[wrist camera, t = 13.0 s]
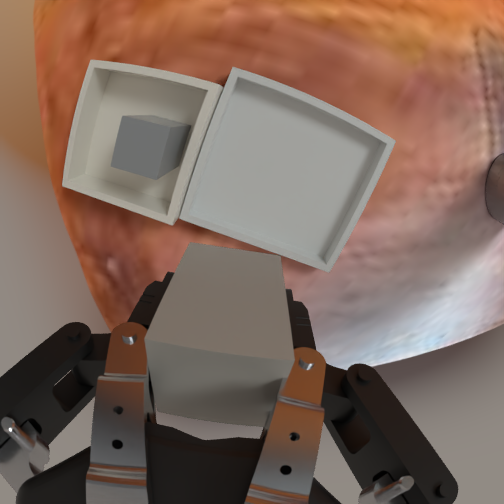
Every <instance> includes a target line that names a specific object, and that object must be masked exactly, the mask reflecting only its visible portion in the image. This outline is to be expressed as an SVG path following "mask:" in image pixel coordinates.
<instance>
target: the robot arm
mask: <svg viewBox="0 0 504 504" xmlns="http://www.w3.org/2000/svg"><path fill="white" fill-rule="evenodd" d="M486 202H487V207H488V210H489V212H490V214H491V215H492V217H493V218H495V219H496V220H498V221H499V222H501V223H502V224H504V154H502V155H500V156H499V157H498V158H496V160H495V161H494V163H493V164H492V166H491V168H490V171H489V174H488V177H487V183H486ZM173 275H174V273H173V272H167V274H166V276H165V278H164V280H163V281H162V282H159V281H154V282H153V283H151V284H150V285H148V286H147V287H146V289H145V291H144V293H143V295H142V296H141V298H140V300H139V301H138V303H137V305H136V307H135V309H134V310H133V312H132V314H131V316H130V318H129V319H128V321H127V322H126V323H122V324H119V325H118V326H116V327H115V328H114V329H113V331H112V333H109V334H91V331H90V329H89V327H88V326H87V325H85V324H83V323H80V322H72V323H69V324H66V325H64V326H63V327H62V328H60V329H59V330H58V331H57V332H55V333H54V334H53V335H51V336H50V337H49V338H48V339H46V340H45V341H44V342H43V343H41V344H40V345H39V346H38V347H36V348H35V349H34V350H33V351H31V352H30V353H29V354H28V355H26V356H25V357H24V358H23V359H22V360H20V361H19V362H18V363H17V364H16V365H14V366H13V367H12V368H11V369H10V370H8V371H7V372H6V373H5V374H4V375H3V376H1V377H0V473H1V474H2V476H3V477H4V478H5V479H6V481H7V482H8V483H9V484H10V486H11V487H12V488H13V489H14V490H15V491H16V492H17V496H16V504H341V503H340V502H339V501H338V500H337V499H336V498H335V497H334V496H333V495H331V494H330V493H329V492H328V491H327V490H326V489H325V488H324V487H323V486H322V485H321V484H320V483H319V482H318V481H317V480H316V479H315V478H314V477H313V475H314V471H315V465H316V460H317V455H318V450H319V444H320V438H321V432H322V426H323V422H324V423H325V425H326V427H327V429H328V430H329V432H330V434H331V436H332V437H333V439H334V441H335V443H336V445H337V446H338V448H339V450H340V452H341V453H342V455H343V457H344V458H345V460H346V462H347V464H348V465H349V467H350V469H351V471H352V473H353V474H354V476H355V478H356V479H357V481H358V483H359V485H360V486H361V488H362V491H361V493H360V495H359V501H358V502H359V504H452V503H453V502H454V501H455V499H456V497H457V494H458V485H457V482H456V480H455V478H454V477H453V476H452V474H451V473H450V471H449V470H448V468H447V467H446V465H445V464H444V463H443V461H442V460H441V458H440V457H439V456H438V454H437V453H436V452H435V450H434V449H433V447H432V446H431V444H430V443H429V441H428V440H427V439H426V437H425V436H424V435H423V433H422V432H421V431H420V429H419V428H418V426H417V425H416V424H415V422H414V421H413V419H412V418H411V417H410V415H409V414H408V413H407V411H406V410H405V409H404V407H403V406H402V405H401V403H400V402H399V400H398V399H397V398H396V396H395V395H394V394H393V392H392V391H391V390H390V388H389V387H388V386H387V385H386V383H385V382H384V381H383V379H382V378H381V377H380V375H379V374H378V373H377V372H376V370H375V369H373V368H372V367H370V366H368V365H366V364H354V365H352V366H350V367H349V368H348V370H343V369H340V368H336V367H333V366H331V365H329V364H327V363H326V361H325V359H324V357H323V356H322V355H321V354H320V353H319V352H318V351H316V346H315V341H314V337H313V332H312V327H311V323H310V320H309V314H308V310H307V308H306V307H305V306H304V305H303V303H302V302H298V301H293V295H292V290H291V289H285V290H286V297H287V304H288V311H289V319H290V326H291V334H292V342H293V349H294V357H295V361H294V364H293V366H292V369H291V371H290V374H289V376H288V378H282V381H281V384H280V386H279V389H278V393H277V396H276V400H275V403H274V406H273V409H272V411H269V413H268V415H267V418H266V421H265V424H264V427H263V430H262V434H261V436H260V439H253V438H240V437H236V438H227V439H217V440H202V439H199V438H197V437H194V436H192V435H189V434H187V433H184V432H182V431H180V430H177V429H175V428H173V427H168V426H164V425H159V424H157V422H156V407H155V397H154V393H153V388H152V382H151V377H150V372H149V366H148V360H147V353H146V347H145V340H144V338H145V336H146V333H147V331H148V329H149V327H150V324H151V322H152V320H153V318H154V316H155V313H156V311H157V309H158V307H159V305H160V303H161V300H162V298H163V296H164V294H165V292H166V290H167V288H168V286H169V283H170V281H171V279H172V277H173ZM70 370H71V371H70ZM69 371H70V372H69ZM68 372H69V373H68ZM67 373H68V374H67ZM66 374H67V375H66ZM65 375H66V376H65ZM64 376H65V377H64ZM62 377H64V378H63V379H62V380H60V379H61V378H62ZM59 380H60V382H58V381H59ZM57 382H58V383H57ZM56 383H57V384H56ZM55 384H56V385H55ZM54 385H55V386H54ZM93 397H95V403H94V412H93V423H92V435H91V446H89V447H88V448H86V449H84V450H83V451H81V452H79V453H77V454H75V455H74V456H72V457H70V458H68V459H66V460H64V461H63V462H61V463H59V464H57V465H55V466H53V467H51V468H49V469H47V470H45V471H43V469H44V465H45V464H47V463H48V462H49V452H50V450H49V446H48V445H49V444H50V443H51V442H52V441H53V440H54V438H55V437H56V436H57V435H58V434H59V433H60V432H61V431H62V430H63V429H64V428H65V427H66V426H67V425H68V424H69V423H70V422H71V421H72V420H73V419H74V418H75V417H76V415H77V414H78V413H79V412H80V411H81V410H82V409H83V408H84V407H85V406H86V405H87V404H88V403H89V402H90V401H91V400H92V398H93Z"/></svg>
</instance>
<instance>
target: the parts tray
mask: <svg viewBox="0 0 504 504" xmlns="http://www.w3.org/2000/svg"><path fill="white" fill-rule="evenodd" d="M395 142H396V141H395V140H394V139H392V138H390V137H389V136H387V135H385V134H384V133H382V132H380V131H379V130H377V129H375V128H374V127H372V126H370V125H368V124H367V123H365V122H363V121H361V120H359V119H357V118H356V117H354V116H352V115H350V114H348V113H346V112H344V111H342V110H340V109H338V108H336V107H334V106H332V105H330V104H328V103H326V102H324V101H321V100H319V99H317V98H315V97H313V96H310V95H308V94H306V93H304V92H301V91H299V90H296V89H294V88H292V87H289V86H287V85H284V84H281V83H279V82H276V81H274V80H271V79H268V78H265V77H263V76H260V75H257V74H254V73H251V72H248V71H245V70H242V69H238V68H235V67H233V68H232V70H231V73H230V75H229V77H228V80H227V82H226V84H225V87H224V89H223V92H222V94H221V97H220V99H219V102H218V104H217V107H216V110H215V112H214V115H213V118H212V120H211V123H210V126H209V128H208V131H207V134H206V137H205V139H204V142H203V145H202V148H201V151H200V154H199V157H198V160H197V163H196V166H195V169H194V172H193V175H192V178H191V181H190V184H189V187H188V191H187V194H186V197H185V200H184V204H183V207H182V211H181V214H180V217H179V219H181V220H184V221H187V222H190V223H193V224H195V225H198V226H201V227H204V228H207V229H209V230H212V231H215V232H218V233H221V234H223V235H226V236H229V237H232V238H235V239H237V240H240V241H243V242H246V243H249V244H251V245H254V246H257V247H260V248H262V249H265V250H268V251H271V252H274V253H276V254H279V255H282V256H285V257H287V258H290V259H293V260H296V261H298V262H301V263H304V264H307V265H309V266H312V267H315V268H318V269H320V270H323V271H326V272H330V271H331V269H332V267H333V265H334V264H335V262H336V260H337V258H338V257H339V255H340V253H341V251H342V249H343V248H344V246H345V244H346V242H347V240H348V238H349V237H350V235H351V233H352V231H353V229H354V227H355V225H356V223H357V222H358V220H359V218H360V216H361V214H362V212H363V210H364V208H365V206H366V204H367V202H368V200H369V198H370V196H371V194H372V192H373V190H374V188H375V186H376V184H377V182H378V180H379V177H380V175H381V173H382V171H383V169H384V167H385V165H386V162H387V160H388V158H389V156H390V154H391V151H392V149H393V147H394V145H395Z"/></svg>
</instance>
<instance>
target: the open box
mask: <svg viewBox="0 0 504 504" xmlns="http://www.w3.org/2000/svg"><path fill="white" fill-rule="evenodd" d="M223 89H224V88H223V87H222V86H221V85H219V84H216V83H212V82H209V81H205V80H202V79H198V78H194V77H190V76H186V75H182V74H178V73H173V72H169V71H164V70H159V69H154V68H149V67H143V66H137V65H131V64H124V63H117V62H109V61H99V60H91V61H90V64H89V66H88V69H87V72H86V75H85V79H84V82H83V85H82V88H81V92H80V95H79V99H78V103H77V106H76V110H75V114H74V119H73V123H72V128H71V132H70V137H69V143H68V148H67V154H66V160H65V167H64V174H63V182H62V186H63V187H66V188H69V189H72V190H75V191H77V192H80V193H83V194H86V195H89V196H91V197H94V198H97V199H100V200H103V201H105V202H108V203H111V204H114V205H116V206H119V207H122V208H125V209H128V210H130V211H133V212H136V213H139V214H142V215H144V216H147V217H150V218H153V219H156V220H158V221H161V222H164V223H167V224H170V225H172V226H173V224H174V223H175V222H176V221H177V219H178V218H179V217H180V214H181V211H182V207H183V204H184V200H185V197H186V194H187V191H188V187H189V184H190V181H191V178H192V175H193V172H194V169H195V166H196V163H197V160H198V157H199V154H200V151H201V148H202V145H203V142H204V139H205V137H206V134H207V131H208V128H209V126H210V123H211V120H212V118H213V115H214V112H215V110H216V107H217V104H218V102H219V99H220V97H221V94H222V92H223ZM126 115H154V116H158V117H162V118H166V119H170V120H174V121H178V122H182V123H185V124H189V125H191V128H190V131H189V134H188V137H187V141H186V144H185V147H184V150H183V154H182V157H181V161H180V164H179V166H178V167H177V168H175V169H173V170H172V171H170V172H169V173H167V174H165V175H164V176H162V177H160V178H159V179H157V180H154V179H151V178H148V177H144V176H141V175H138V174H134V173H131V172H127V171H124V170H121V169H117V168H114V167H111V162H112V157H113V152H114V147H115V143H116V139H117V134H118V130H119V126H120V122H121V119H122V116H126Z"/></svg>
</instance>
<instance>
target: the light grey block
mask: <svg viewBox="0 0 504 504" xmlns="http://www.w3.org/2000/svg"><path fill="white" fill-rule="evenodd" d="M144 340H145V347H146V353H147V360H148V366H149V372H150V377H151V382H152V388H153V393H154V397H155V402H156V407H157V411H158V412H163V413H167V414H172V415H177V416H182V417H187V418H193V419H199V420H205V421H212V422H219V423H227V424H237V425H246V426H247V425H248V426H259V427H264V424H265V421H266V418H267V415H268V413H269V411H272V409H273V406H274V403H275V400H276V396H277V393H278V389H279V386H280V384H281V381H282V378H288V376H289V374H290V371H291V369H292V366H293V364H294V361H295V357H294V349H293V342H292V334H291V326H290V319H289V311H288V304H287V297H286V290H285V283H284V276H283V269H282V262H281V256H280V255H274V254H267V253H260V252H253V251H247V250H240V249H233V248H226V247H219V246H213V245H206V244H199V243H192V242H190V243H189V245H188V247H187V249H186V251H185V253H184V255H183V257H182V259H181V261H180V263H179V265H178V267H177V269H176V271H175V273H174V275H173V277H172V279H171V281H170V283H169V286H168V288H167V290H166V292H165V294H164V296H163V298H162V300H161V303H160V305H159V307H158V309H157V311H156V313H155V316H154V318H153V320H152V322H151V324H150V327H149V329H148V331H147V333H146V336H145V338H144Z"/></svg>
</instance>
